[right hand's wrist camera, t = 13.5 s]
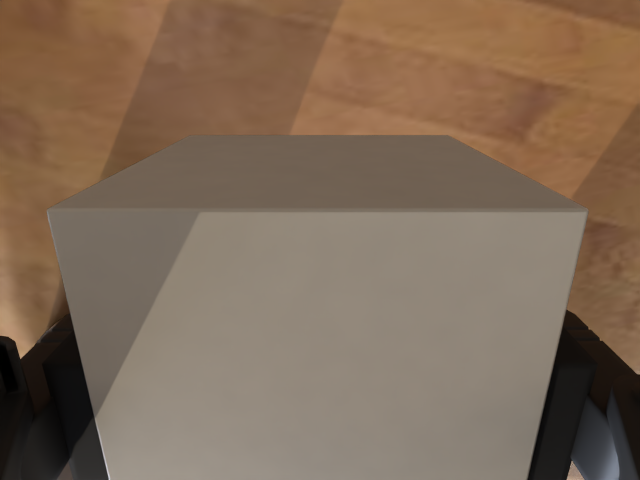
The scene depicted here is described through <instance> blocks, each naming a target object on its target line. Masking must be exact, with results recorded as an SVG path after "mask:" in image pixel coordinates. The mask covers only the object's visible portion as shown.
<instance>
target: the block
mask: <svg viewBox="0 0 640 480" xmlns="http://www.w3.org/2000/svg"><path fill="white" fill-rule="evenodd" d="M47 215H48V220H49V224H50V228H51V233H52V237H53V241H54V245H55V250H56V254H57V258H58V263H59V267H60V271H61V276H62V280H63V284H64V288H65V293H66V297H67V301H68V306H69V310H70V314H71V318H72V323H73V327H74V331H75V336H76V340H77V344H78V349H79V353H80V357H81V361H82V366H83V370H84V374H85V379H86V383H87V387H88V391H89V396H90V400H91V404H92V409H93V413H94V417H95V422H96V426H97V430H98V434H99V439H100V443H101V447H102V452H103V456H104V460H105V465H106V469H107V473H108V477H109V480H527V479H528V475H529V470H530V466H531V462H532V457H533V453H534V448H535V444H536V440H537V435H538V431H539V427H540V422H541V418H542V413H543V409H544V405H545V400H546V396H547V392H548V387H549V383H550V378H551V374H552V370H553V365H554V361H555V357H556V352H557V348H558V343H559V339H560V335H561V330H562V326H563V322H564V317H565V313H566V308H567V304H568V300H569V295H570V291H571V287H572V282H573V278H574V273H575V269H576V265H577V260H578V256H579V252H580V247H581V243H582V238H583V234H584V230H585V225H586V221H587V217H588V209H587V208H585V207H584V206H582V205H580V204H578V203H576V202H574V201H572V200H570V199H568V198H566V197H564V196H563V195H561V194H559V193H557V192H555V191H553V190H551V189H549V188H547V187H545V186H544V185H542V184H540V183H538V182H536V181H534V180H532V179H530V178H528V177H526V176H524V175H523V174H521V173H519V172H517V171H515V170H513V169H511V168H509V167H507V166H505V165H504V164H502V163H500V162H498V161H496V160H494V159H492V158H490V157H488V156H486V155H484V154H483V153H481V152H479V151H477V150H475V149H473V148H471V147H469V146H467V145H465V144H464V143H462V142H460V141H458V140H456V139H454V138H452V137H450V136H448V135H190V136H188V137H186V138H184V139H182V140H180V141H178V142H176V143H174V144H172V145H170V146H168V147H166V148H164V149H162V150H160V151H158V152H157V153H155V154H153V155H151V156H149V157H147V158H145V159H143V160H141V161H139V162H137V163H135V164H133V165H131V166H129V167H128V168H126V169H124V170H122V171H120V172H118V173H116V174H114V175H112V176H110V177H108V178H106V179H104V180H102V181H100V182H98V183H97V184H95V185H93V186H91V187H89V188H87V189H85V190H83V191H81V192H79V193H77V194H75V195H73V196H71V197H69V198H68V199H66V200H64V201H62V202H60V203H58V204H56V205H54V206H52V207H50V208H48V209H47Z"/></svg>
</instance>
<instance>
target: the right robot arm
mask: <svg viewBox="0 0 640 480" xmlns="http://www.w3.org/2000/svg"><path fill="white" fill-rule="evenodd" d="M571 461H573V462H574V464H575V465H576V467H577V469H578V470H579V472H580V473H581V475H582V476H583V478H584V479H585V480H640V375H638V374H636V373H635V372H634V371H633V370H632V369H631V368H630V367H629V366H628V365H627V364H626V363H625V362H624V361H623V360H622V359H621V358H620V357H619V356H617V355H616V354H615V353H614V352H613V351H612V350H611V349H610V348H609V347H608V346H607V345H606V344H605V343H604V342H603V341H600V340H599V337H598V336H597V335H596V334H595V333H594V332H593V331H592V330H588V327H587V326H586V325H585V324H584V323H583V322H582V321H581V320H580V319H579V318H578V317H577V316H576V315H575V314H573V313H572V312H570V311H568V310H566V313H565V317H564V322H563V326H562V330H561V335H560V339H559V343H558V348H557V352H556V357H555V361H554V365H553V370H552V374H551V378H550V383H549V387H548V392H547V396H546V400H545V405H544V409H543V413H542V418H541V422H540V427H539V431H538V435H537V440H536V444H535V448H534V453H533V457H532V462H531V466H530V470H529V475H528V479H527V480H567V476H568V472H569V469H570V465H571ZM0 480H109V477H108V473H107V469H106V465H105V460H104V456H103V452H102V447H101V443H100V439H99V434H98V430H97V426H96V422H95V417H94V413H93V409H92V404H91V400H90V396H89V391H88V387H87V383H86V379H85V374H84V370H83V366H82V361H81V357H80V353H79V349H78V344H77V340H76V336H75V331H74V327H73V323H72V318H71V314H70V313H69V314H68V315H66V316H65V317H64V318H62V319H60V320H59V321H57V322H56V323H55V324H54V325H53V326H52V327H51V328H50V329H48V330H47V331H46V332H45V333H44V334H43V335H42V336H41V338H40V339H39V340H38V341H37V343H36V344H35V346H34V347H33V348H32V349H31V350H30V351H29V352H28V353H27V354H26V355H24V356H23V357H22V358H21V359H20V357H19V353H18V350H17V346H16V343H15V341H14V340H12V339H11V338H9V337H6V336H0Z"/></svg>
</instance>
